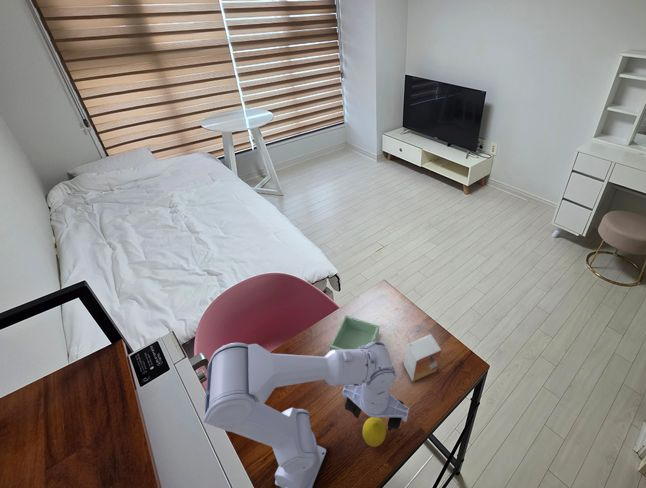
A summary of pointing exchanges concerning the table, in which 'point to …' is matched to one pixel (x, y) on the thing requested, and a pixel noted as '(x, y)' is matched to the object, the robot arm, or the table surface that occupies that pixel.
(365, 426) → the lemon
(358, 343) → the green square open tray
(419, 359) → the white toy house
